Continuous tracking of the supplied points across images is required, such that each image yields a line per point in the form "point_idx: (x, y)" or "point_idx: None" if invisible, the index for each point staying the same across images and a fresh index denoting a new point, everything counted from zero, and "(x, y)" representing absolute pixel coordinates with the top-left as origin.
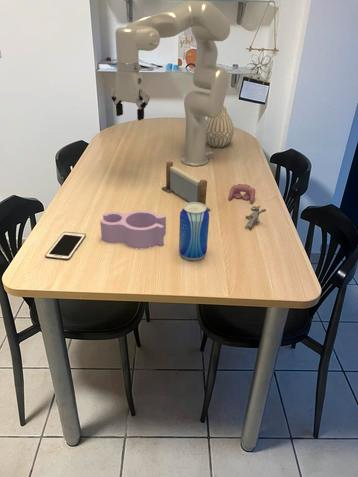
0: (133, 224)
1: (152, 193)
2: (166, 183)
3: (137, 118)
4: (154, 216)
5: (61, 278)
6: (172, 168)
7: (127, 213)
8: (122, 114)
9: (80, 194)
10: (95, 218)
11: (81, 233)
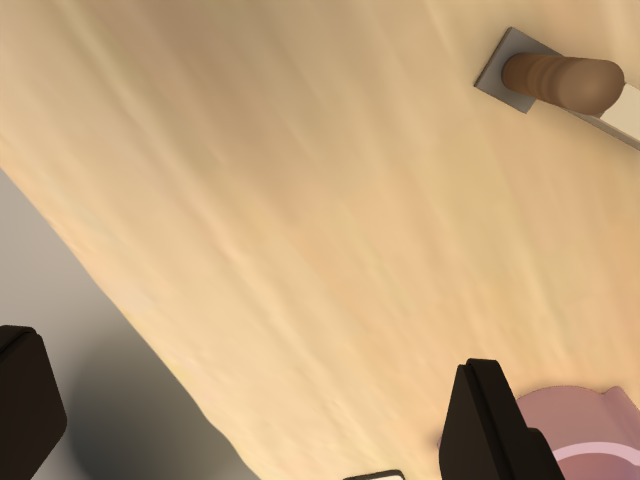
0: None
1: (450, 155)
2: (518, 91)
3: (442, 478)
4: (621, 455)
5: None
6: (625, 132)
7: None
8: (39, 342)
9: (195, 305)
10: (363, 402)
11: (387, 476)
